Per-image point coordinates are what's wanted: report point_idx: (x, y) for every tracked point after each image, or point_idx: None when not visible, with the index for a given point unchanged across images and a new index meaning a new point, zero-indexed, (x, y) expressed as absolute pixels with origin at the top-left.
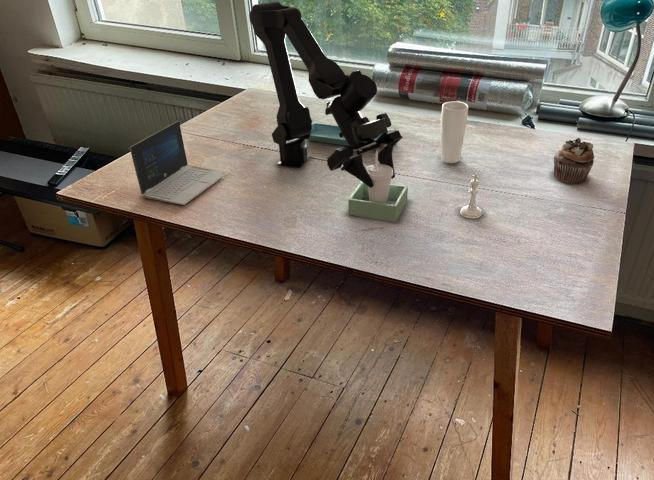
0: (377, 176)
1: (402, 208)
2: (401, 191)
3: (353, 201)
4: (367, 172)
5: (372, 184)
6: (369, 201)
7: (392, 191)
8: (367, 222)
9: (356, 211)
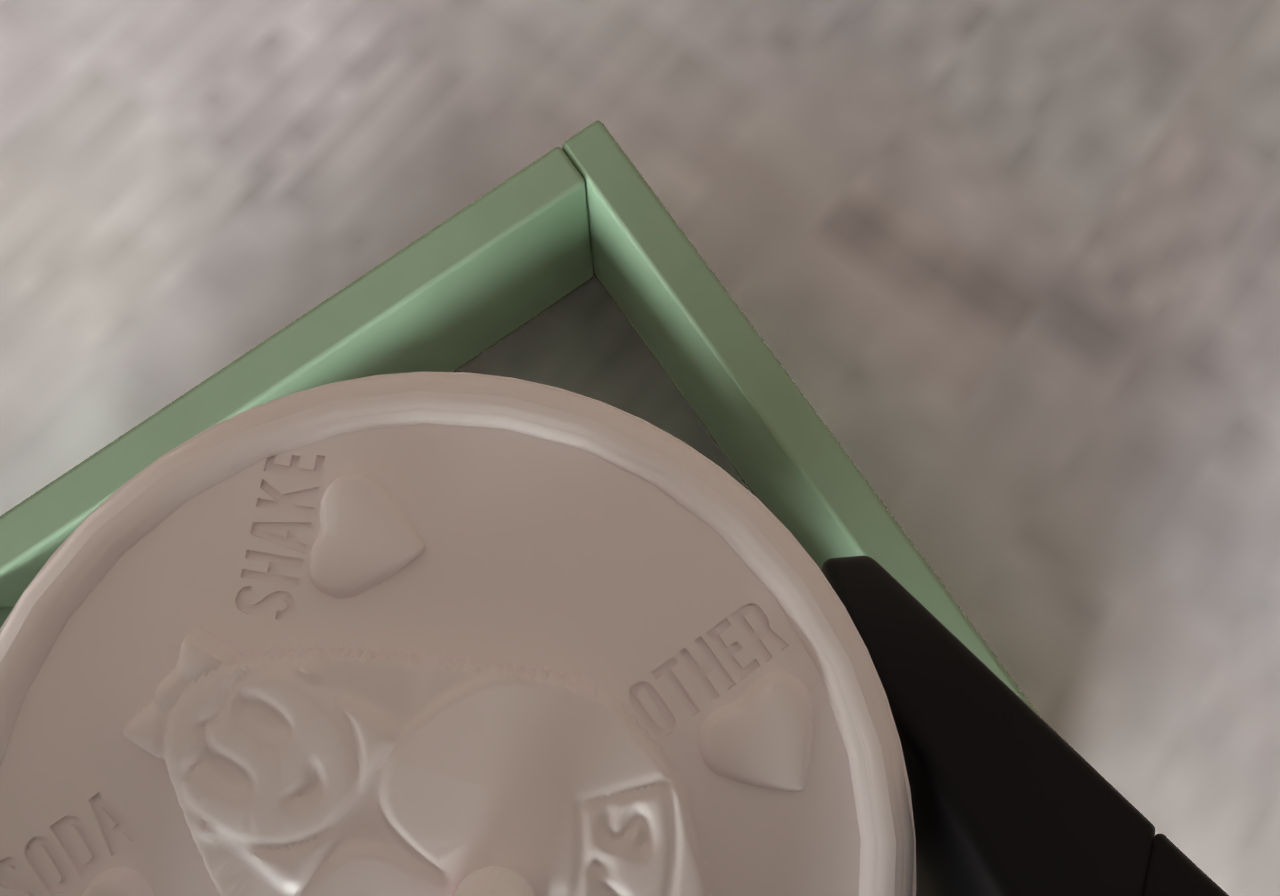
0: (757, 507)
1: None
2: None
3: None
4: (990, 827)
5: (860, 575)
6: (881, 556)
7: None
8: (930, 465)
9: None
